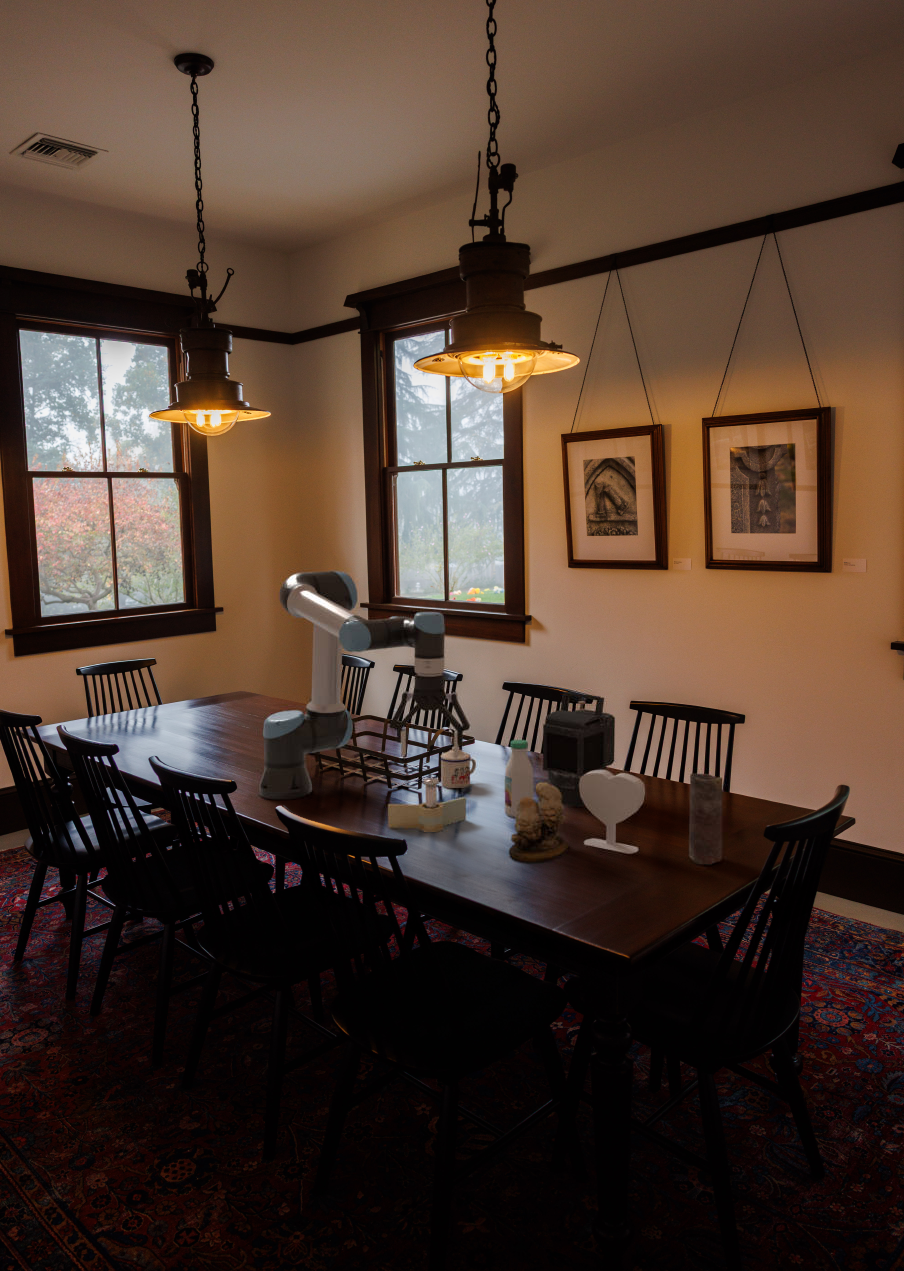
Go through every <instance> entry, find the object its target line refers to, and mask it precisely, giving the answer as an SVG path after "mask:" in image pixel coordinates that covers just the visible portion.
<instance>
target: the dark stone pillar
mask: <svg viewBox="0 0 904 1271" xmlns="http://www.w3.org/2000/svg"><path fill="white" fill-rule="evenodd" d="M689 779H690V781H689V782H690V783H689V829H688V830H689V833H688V834H689V835H688V847H689V848H688V856H689V858H690V859H691V860H692V861H693V863H694V864H695V863H696V864H697V865H708V866H709V865H713V864H714V863H718V862H721V860H722V859H723V778H722V777H719V776H715V775H712V774H709V773H704V774H703V773H690V776H689Z"/></svg>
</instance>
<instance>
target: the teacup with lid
mask: <svg viewBox="0 0 904 1271" xmlns="http://www.w3.org/2000/svg"><path fill="white" fill-rule="evenodd" d="M471 763H472V765H471ZM440 764H441V765H440V767H441V768H440V769H441V773H440V774H441V777H440V779H441V782H440V783H441V786H442V787H444V788H446V789H450V788H461V789H465V787H466V788H468V787H469V786H470V785H471V775H472V774H473V773H474V772H475V771H476V768H477V766H476V765H477V762H476V760H475V759H474V758H472V757H471V755H470V754H469V753H468V752H464V751H463V750H461V749H460V748H459V747H458V758H454V746H452V748H451V749H450V750H448V751H447V752H443V753H442V754H441V755H440Z"/></svg>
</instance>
